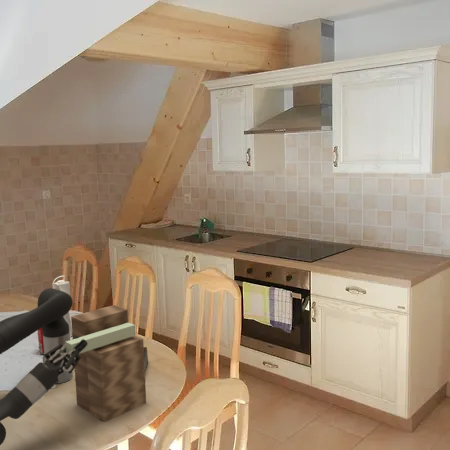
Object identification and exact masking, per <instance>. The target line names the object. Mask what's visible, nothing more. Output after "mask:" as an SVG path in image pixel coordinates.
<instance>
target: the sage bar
mask: <svg viewBox="0 0 450 450" xmlns="http://www.w3.org/2000/svg"><path fill="white" fill-rule="evenodd" d="M132 336H136V325H135V324H133V323H131V322H128V323H125V324H122V325H119V326H115V327H112V328H109V329H105V330H102V331H99V332H96V333H92V334H89V335H86V336H82V337H79V338H76V339H73V338H72V339H73V340H72V339H70V340H69V341H66V342H65V344H66V352H67V353H68V352H69V351H70V350H72V349H73V348H74V347H75V346H76V345H77V344H78V343H79V342H80V341H81V340H82V339H84V340H85V341H86V342H87V346H86V347H85V348H84V349H83V350H82V351H81V352H80V353H83V352H86V351H89V350H92V349H95V348H98V347H101V346H104V345H108V344H111V343H114V342H117V341H120V340H123V339H126V338H129V337H132ZM80 353H79V354H80ZM72 354H73V353H72ZM72 354H71V356H72Z"/></svg>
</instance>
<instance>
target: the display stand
mask: <svg viewBox="0 0 450 450" xmlns="http://www.w3.org/2000/svg"><path fill="white" fill-rule="evenodd" d="M128 311H129V310H128V309H126V308H124V307H121V306H118V305H116V304H115V305H114V304H113V305H109V306H105V307H101V308H97V309H94V310H90V311H87V312H83V313H79V314H75V315H72V316H71V315H70V320H71V327H72V339H73V338H74V337H75V336H78V337H82V336H86V335H89V334H92V333H96V332H99V331H102V330H105V329H109V328H112V327H115V326H119V325H122V324H125V323H129V315H128V314H129V313H128ZM144 344H145V343H144V338H142V337H139V336H138V335H135V336H132V337H129V338H126V339H123V340H120V341H117V342H114V343H111V344H108V345H104V346H101V347H98V348H95V349H92V350H89V351H86V352H83V353H80V354H79V355H80V357H81V359H80V360H79V362H78V363H77V365H76V366H75V368H74V378H75V380H74V381H75V393H76V405H77V406H79V407H80V408H82V409H84V410H85V411H86V412H88V413H89V414H91V415H92V416H94V417H96V418H97V419H99V420H100V421H102V422H107V421H110V420H112V419H114V418H116V417H118V416H120V415H122V414H125V413H127V412H129V411H131V410H133V409H136V408H138V407H141V406H143V405H145V404H147V394H146V393H147V392H146V387H147V386H146V372H145V365H144V347H145V346H144ZM75 359H76V358H75ZM75 359H74V360H75Z"/></svg>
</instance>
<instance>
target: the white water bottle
mask: <svg viewBox="0 0 450 450" xmlns="http://www.w3.org/2000/svg"><path fill="white" fill-rule="evenodd" d="M62 277H63V279H61V280H60V279H59V278H62ZM58 279H59V280H58ZM65 279H66V275H60V276H56V278H54V280H53V282H52V289H57V290H60V291H63V292H65V293H67V294H69V295H70V296H71V287H70V284H71V283H70V281H66V280H65ZM56 280H57V281H56ZM55 281H56V282H55ZM63 317H64V319H65V320H66V322H67V323H68V324H69V330H70V338H71V336H72V322H71V315H70V311H69V312H68V313H67V314H66V315H64V316H63ZM71 339H72V338H71Z"/></svg>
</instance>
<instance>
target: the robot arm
mask: <svg viewBox="0 0 450 450" xmlns="http://www.w3.org/2000/svg"><path fill="white" fill-rule="evenodd" d="M72 307H73V298H72V296H71V294H70V295H69V294H67V293H65V292H63V291H60V290H57V289H53V287H52V288H50V287H49V288H46V289H44V290H42V291H41V293H40V294H39V295H38V298H37V307H35V308H33V309H32V310H28V311H26V312H23V313H19V314H15V315H12V316H9V317H7V318H5V319H3V320H1V321H0V355H2V354H4V353H5V352H6V351H7V352H8V350H10V349H11V348H13V347H14V346H16V345H18V344H19V343H20V342H22V341H23V340H25V339H26V338H28V337H30V336H31V335H32V334H34V333H36V332H38V330H39V329H40V328H41V329H42V332H43V343H44V355H42V362H41V361H40V362H38V363H37V364H36V365H35V366H34V367H33V368H32V369H31V370H30V371H29V372H27V374H26V375H24V376H23V378H22V379H20V381H19V382H18V383H17V384H16V385H15V386H14V387H13V388H12V389H11V390H10V391H9V392H8V393H7V394H5V396H3V397H2V398H0V446H1V445H2V444H3V443H4V441H5V439H6V437H7V430H6V427H5V425H3V423H2V421H3V420H4V419H6V418H8V417H10V418H11V419H14V420H17V419H19V418H21V417H22V416H23V415H25V413H26V412H28V410H29V409H30V408H31V407H32V406H33V405H34V404H35V403H37V402H38V401H39V400H41V399H42V397H43V396H44V395H46V393H48V392H49V391H50V389H52V387H54V386H55V385H56V384H57V385H58V384H63V383H66V382H68V381H70V380H72V378H73V375H74V374H73V372H74V371H75V366H76V365H77V363H78V362H79V360H80V359H81V357H80V355H79V353H80V352H81V351H82V350H83V349H84V348H85V347H86V346H87V342H86V341H85V340H84V339H82V340H81V341H80V342H79V343H78V344H77V345H76V346H75V347H74V348H73V349H72V350H70V351H69V352H68V353H67V352H66V344H65V342H66V341H69V340H73V339H76V338H79V337H78V336H75V337H74V338H73V337H72V338H71V339H70V330H69V324H68V323H67V322H66V320H65V319H64V317H63V316H64V315H66V314H67V313H68V312H69V313H70V310H71V309H72ZM72 353H73V354H72ZM71 354H72V356H71ZM75 358H76V359H75ZM74 359H75V360H74Z"/></svg>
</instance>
